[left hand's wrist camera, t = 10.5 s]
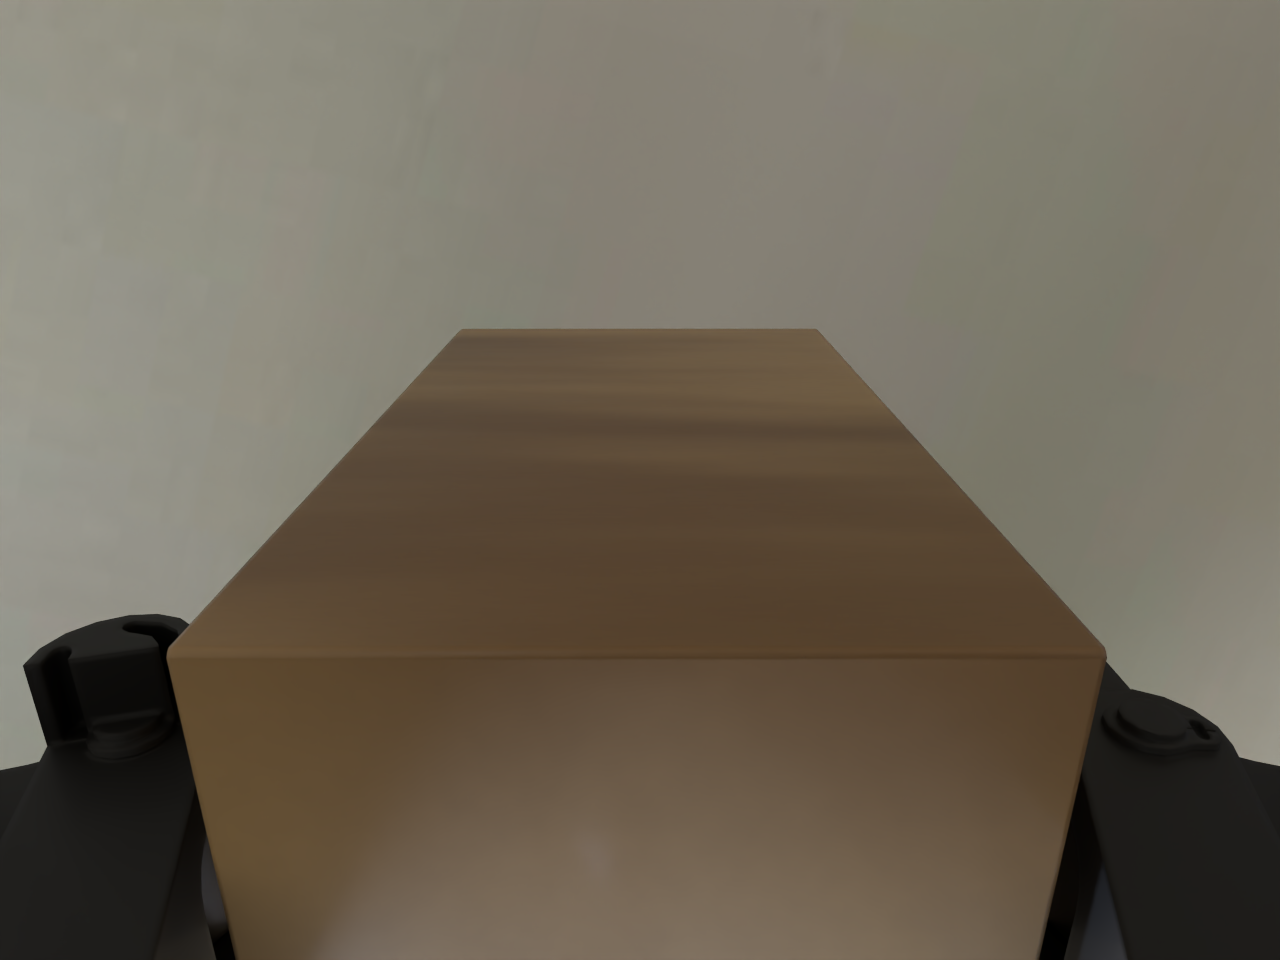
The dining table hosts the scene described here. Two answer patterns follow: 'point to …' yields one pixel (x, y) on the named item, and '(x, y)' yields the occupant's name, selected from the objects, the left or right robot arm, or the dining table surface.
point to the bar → (637, 676)
